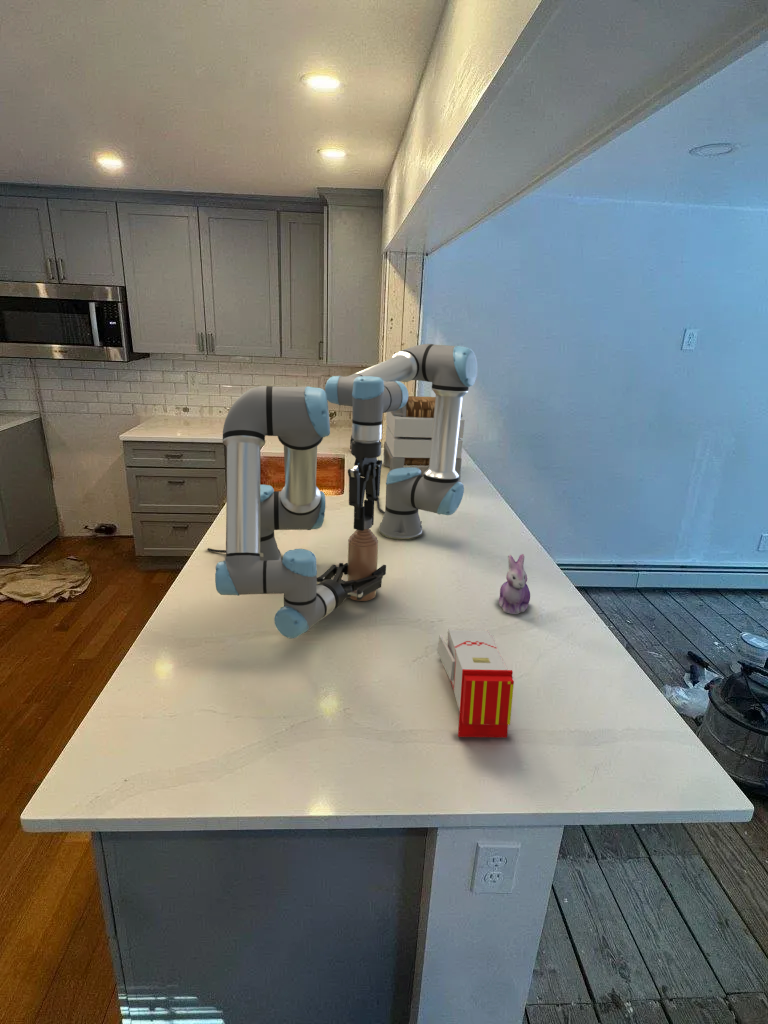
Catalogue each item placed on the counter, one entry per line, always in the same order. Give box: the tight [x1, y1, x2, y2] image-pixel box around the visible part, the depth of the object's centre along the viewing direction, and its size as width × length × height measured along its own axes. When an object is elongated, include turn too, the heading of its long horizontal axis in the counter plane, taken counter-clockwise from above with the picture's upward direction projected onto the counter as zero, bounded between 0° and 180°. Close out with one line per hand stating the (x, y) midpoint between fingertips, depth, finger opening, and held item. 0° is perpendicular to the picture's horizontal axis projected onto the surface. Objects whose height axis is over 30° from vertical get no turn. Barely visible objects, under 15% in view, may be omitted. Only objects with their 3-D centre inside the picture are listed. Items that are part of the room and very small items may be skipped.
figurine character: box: [349, 434, 354, 450], centre depth 311 cm, size 7×8×15 cm
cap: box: [364, 515, 373, 529], centre depth 150 cm, size 4×4×2 cm
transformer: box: [382, 395, 465, 482], centre depth 268 cm, size 34×33×41 cm
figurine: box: [498, 553, 531, 615], centre depth 151 cm, size 9×10×15 cm
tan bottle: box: [346, 528, 379, 602], centre depth 153 cm, size 8×8×22 cm
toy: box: [437, 628, 515, 738], centre depth 117 cm, size 12×13×30 cm
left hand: (371, 565), depth 159 cm, fingers closed on tan bottle, 8 cm apart
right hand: (363, 526), depth 150 cm, fingers closed on cap, 4 cm apart
